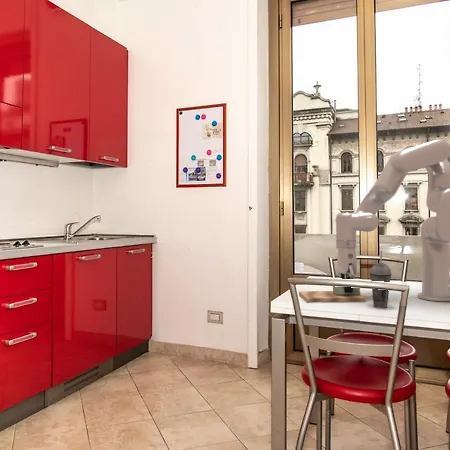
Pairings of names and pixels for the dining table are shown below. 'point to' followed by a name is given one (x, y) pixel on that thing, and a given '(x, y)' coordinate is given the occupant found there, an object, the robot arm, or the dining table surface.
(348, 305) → the dining table surface
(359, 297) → the board
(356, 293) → the sanding block
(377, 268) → the beverage cup
